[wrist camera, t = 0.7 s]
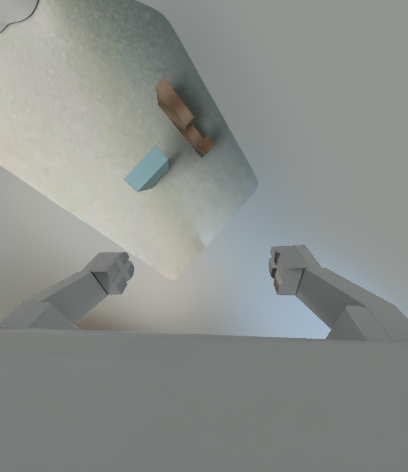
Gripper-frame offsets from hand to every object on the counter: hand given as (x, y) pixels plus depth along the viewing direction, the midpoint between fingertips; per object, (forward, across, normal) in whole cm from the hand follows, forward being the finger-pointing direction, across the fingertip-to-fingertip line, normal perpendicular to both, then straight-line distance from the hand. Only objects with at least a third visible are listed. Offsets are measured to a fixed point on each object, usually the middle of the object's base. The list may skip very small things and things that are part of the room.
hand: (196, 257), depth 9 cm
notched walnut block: (+44, +8, -7) cm, 45 cm away
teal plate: (+38, +17, +3) cm, 42 cm away
